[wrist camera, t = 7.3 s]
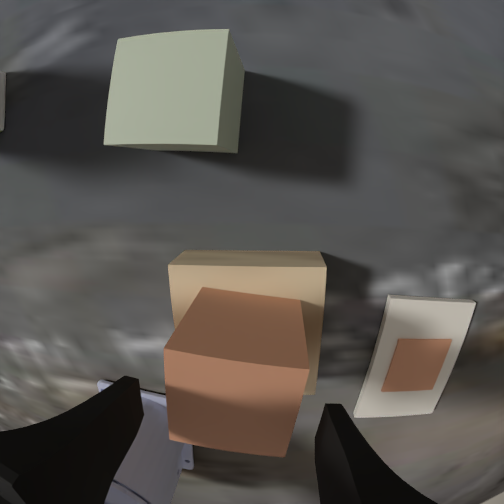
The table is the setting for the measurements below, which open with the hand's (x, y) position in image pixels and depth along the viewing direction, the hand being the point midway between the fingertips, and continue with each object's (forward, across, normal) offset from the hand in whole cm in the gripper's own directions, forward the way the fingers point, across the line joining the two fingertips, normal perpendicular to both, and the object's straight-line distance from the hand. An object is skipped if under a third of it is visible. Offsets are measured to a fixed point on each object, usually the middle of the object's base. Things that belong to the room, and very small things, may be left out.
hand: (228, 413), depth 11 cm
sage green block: (+9, +4, -12) cm, 16 cm away
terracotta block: (+6, 0, 0) cm, 6 cm away
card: (+9, -12, +3) cm, 15 cm away
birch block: (+10, 0, 0) cm, 10 cm away
